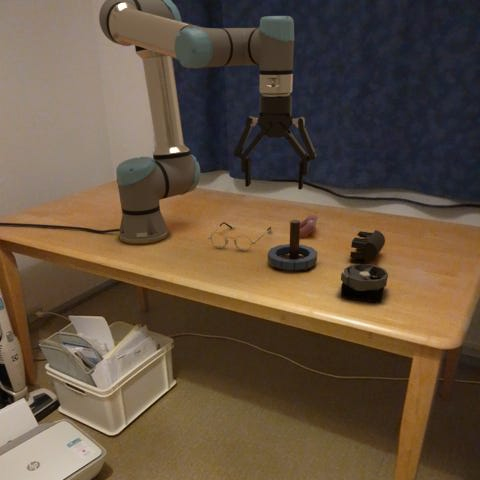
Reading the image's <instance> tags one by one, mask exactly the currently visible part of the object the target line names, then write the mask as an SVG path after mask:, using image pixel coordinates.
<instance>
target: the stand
mask: <svg viewBox="0 0 480 480" xmlns="http://www.w3.org/2000/svg"><path fill="white" fill-rule="evenodd" d="M300 223H301V220H299V219H292V220H290V221H289V244H290V245H289V254H285V255H281V256H280V257H281V258H284V259H293V260H295V259H303V258H305V257H306V256H303V255H300V254H299V245H300V241H301V240H300V239H301V238H300V229H301V228H300ZM275 268H276V269H277V270H281V269H280V268H277V267H275ZM307 270H308V268H306V269H301V270H297V271H299V272H307Z"/></svg>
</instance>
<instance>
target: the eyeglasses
mask: <svg viewBox="0 0 480 480" xmlns="http://www.w3.org/2000/svg"><path fill="white" fill-rule="evenodd" d="M223 225H226V226H227V227H228V228H229V229H231V230H233V226H231V225H229V224H228V223H226V222H225V221H224V222H221V223H220V224H219V226H218V227H217V228H216V229H215V230H214V231H213V232H212V233H211V234H210V235H209V236H208V240H210V241H211V243H212V245H213V246H214V247H216V248H218V249H223V248H225V247H227V245H228V243H229V239H230V237H229V236H227V237H225V236H224V234H222V233H220V232H219V231H218V229H219V228H221V226H223ZM271 231H272V227H271V226H269V227H268V228H267V229H266V230H265V232H263V233H262V234H261V235H260V236H259V237H258V238H257V239H256V240H255V241H252V239H251V238H250V237H249V236H248V235H246V234H240V235H238V236H237V237H236V238H235V237H231V239H232V240H233V243H234V246H235V248H236V249H238V250H239V251H242V252H245V251H248V250H249V249H251V247H249V248H246V249H243V248H240V247H239V246H238V242H237V239H238V238H239V237H246V238H248V239H249V241H250V246H252V245H255V244H256V243H257V242H258V241H260V240H261V238H262V237H263V236H264V235H265V234H266V233H267V232H268V233H271ZM214 234H219V235H221V236H222V237H223V239H224V245H223V246H218V245H216V244H215V243H214V242H213V239H212V237H213V235H214Z"/></svg>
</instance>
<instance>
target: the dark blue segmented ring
mask: <svg viewBox="0 0 480 480" xmlns="http://www.w3.org/2000/svg"><path fill="white" fill-rule="evenodd" d="M289 245H290V243H285V244H279V245H275V246H273V247H270V248H269V250H268V251H267V262H268V263H269V264H270V266H272V267H274V268H276V267H277V268H280V269H279V270H288V271H298V270H301V269H306V268H307V269H309V268H311V267H313V266H315V265H316V264H317V262H318V251H317V250H316V249H315V248H313V247H311V246H308V245H305V244H299V256H306V257H305V258H303V259H295V260H293V259H284V258H281V256H282V255H285V254H286V255H289Z"/></svg>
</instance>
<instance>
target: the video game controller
mask: <svg viewBox="0 0 480 480" xmlns="http://www.w3.org/2000/svg"><path fill="white" fill-rule="evenodd" d="M318 218H319V217H318V215H317V214H313V213H311V214H309V215H308V216H307V217H306V218H305V219H303V220H302V221H300V239H302V238H305V237H307V236H310V235H311V233H312V232H313V231H316V230H317V220H318Z"/></svg>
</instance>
